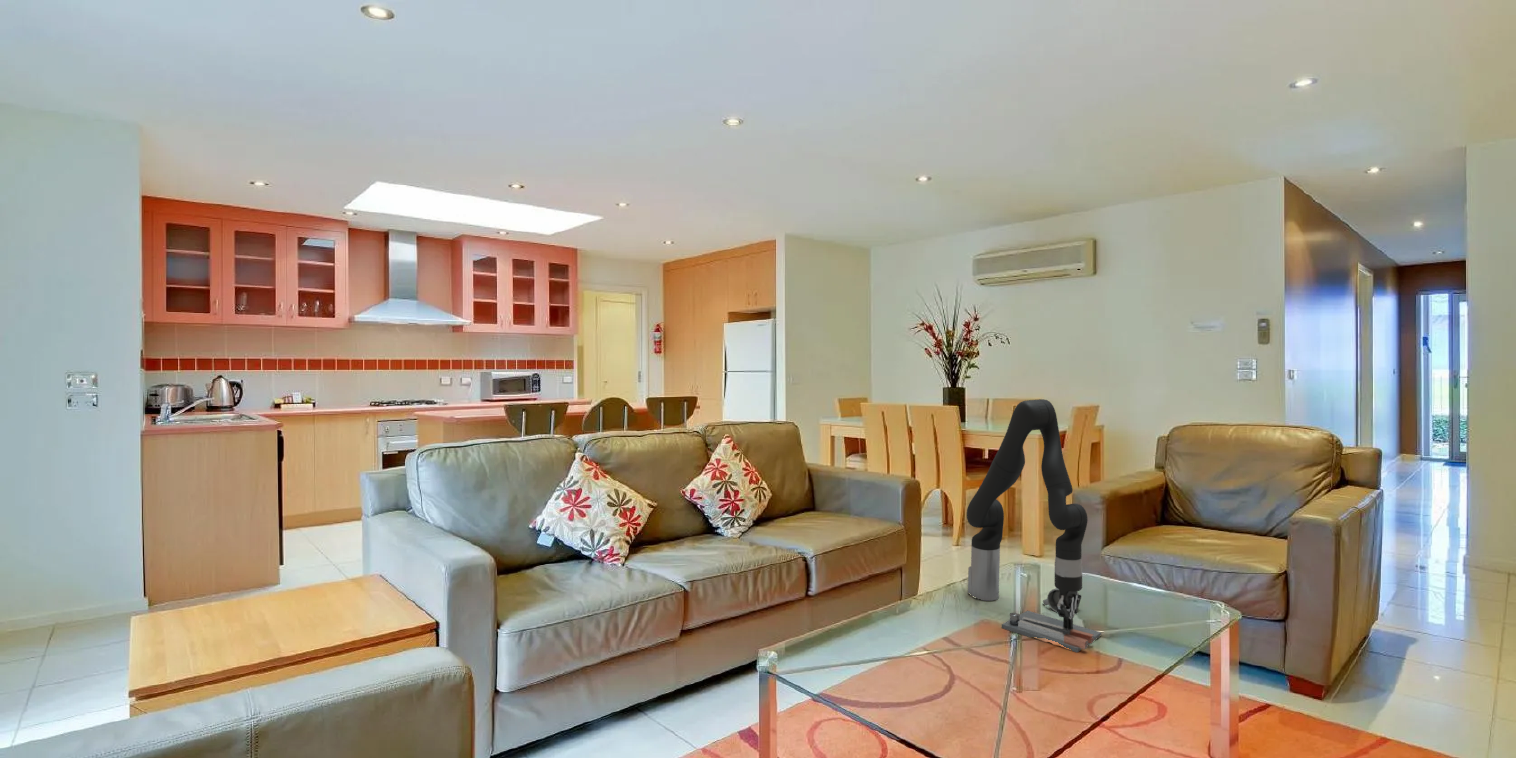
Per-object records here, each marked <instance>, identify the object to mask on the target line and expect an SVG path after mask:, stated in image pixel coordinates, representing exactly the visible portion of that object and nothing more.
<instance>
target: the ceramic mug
mask: <svg viewBox="0 0 1516 758" xmlns="http://www.w3.org/2000/svg"><path fill="white" fill-rule="evenodd" d="M1059 593H1060V591H1059V589H1058V588H1056V587H1055V588H1053V589H1051V590H1050V591H1049V592H1048V594H1047V598H1045V599H1043V600H1042V602H1043V606H1049V607H1050V609H1051V610H1052V611H1054V612H1056V613H1057V614H1058V612H1057V610H1056V608H1055V603H1059ZM1077 594H1079V595H1080V593H1079V591H1077Z"/></svg>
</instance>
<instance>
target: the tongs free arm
mask: <svg viewBox="0 0 1516 758" xmlns="http://www.w3.org/2000/svg"><path fill="white" fill-rule="evenodd" d="M1022 620H1023V621H1026V622H1029V623H1032V624H1036V625H1039V626H1042V627H1045V628H1049V629H1052V630H1055V631H1058V632H1061V633H1065V634H1069V635H1073V636H1076V637H1079V638H1082V639H1085V640H1088V643H1091V644H1093V643H1094V642H1093V640H1094V634H1090V633H1086V632H1082V631H1078V630H1074V629H1069V628H1065V627H1061V626H1058V625H1054V624H1050V623H1046V622H1042V621H1038V620H1034V619H1030V618H1027V617H1023V618H1022Z"/></svg>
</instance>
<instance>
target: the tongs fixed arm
mask: <svg viewBox="0 0 1516 758" xmlns="http://www.w3.org/2000/svg"><path fill="white" fill-rule="evenodd" d="M1019 618H1020V613H1017V612H1010V613H1009V620H1010V624H1011V625H1013V626H1018V628H1020V629H1023V630H1026V631H1030V632H1033V633H1036V634H1039V635H1042V636H1045V637H1048V638H1051V639H1055V640H1058V641H1061V642H1064V643H1067V644H1070V645H1073V646H1076V647H1079V648H1082V650H1086V649H1087V648H1088V646H1089V645H1088V640H1085V639H1082V638H1079V637H1076V636H1073V635H1069V634H1065V633H1061V632H1058V631H1055V630H1052V629H1049V628H1045V627H1042V626H1039V625H1036V624H1032V623H1029V622H1026V621H1023V620H1020V621H1019Z"/></svg>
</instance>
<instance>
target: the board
mask: <svg viewBox="0 0 1516 758" xmlns="http://www.w3.org/2000/svg"><path fill="white" fill-rule="evenodd" d="M1019 615H1020V618H1019V621H1020V620H1022V618H1023V617H1027V618H1030V619H1034V620H1038V621H1042V622H1046V623H1050V624H1054V625H1058V626H1061V627H1063V620H1061V619H1057V618H1053V617H1051V616H1047V615H1044V614H1041V613H1038V612H1037V613H1036V612H1035V611H1034V612H1033V611H1030V610H1026V611H1024V612H1022V613H1019ZM1001 629H1004V630H1007V631H1010V632H1012V633H1015V634H1016V633H1017V634H1019V635H1022V636H1025V637H1028V638H1031V637H1037V638H1046V639H1048V640H1052V641H1055V642H1058V643H1059V644H1061V645H1063V646H1064V647H1066V648H1069V649H1071V650H1072V651H1071V650H1070V651H1071V652H1075V653H1079V652H1080V651H1081V649H1082V648H1079V647H1076V646H1073V645H1070V644H1067V643H1064V642H1061V641H1058V640H1055V639H1051V638H1048V637H1045V636H1042V635H1039V634H1036V633H1033V632H1030V631H1026V630H1023V629H1020V628H1018V626H1013V625H1011V624H1010V619H1009V620H1006V621H1005V622H1003V623H1001ZM1073 629H1074V630H1078V631H1082V632H1086V633H1090V634H1094V640H1095V639H1096V638H1098V637H1099V636H1100V635H1101V636H1102V632H1101V631H1098V630H1094V629H1090V628H1087V627H1084V626H1080V625H1078V624H1074V623H1073ZM1099 638H1100V637H1099ZM1099 638H1098V639H1099ZM1094 640H1093V641H1094ZM1096 640H1097V639H1096ZM1096 640H1095V641H1096ZM1095 641H1094V642H1095ZM1090 644H1091V643H1088V646H1090ZM1082 650H1083V649H1082Z"/></svg>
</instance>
